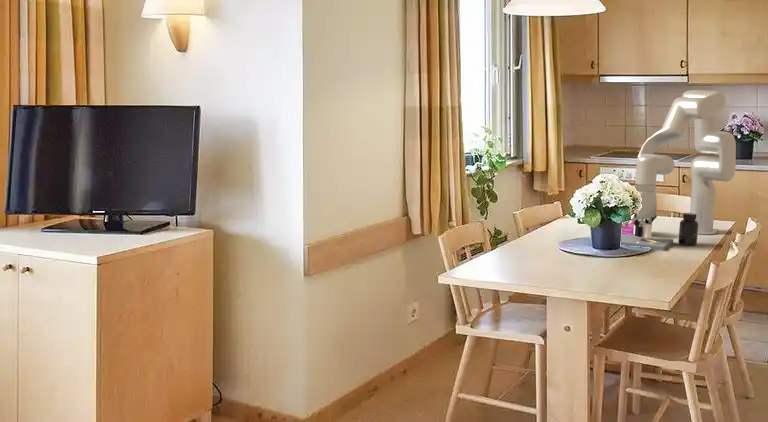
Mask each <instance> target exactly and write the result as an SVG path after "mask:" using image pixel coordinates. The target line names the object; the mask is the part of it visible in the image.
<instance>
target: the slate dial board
mask: <svg viewBox="0 0 768 422" xmlns="http://www.w3.org/2000/svg"><path fill="white" fill-rule="evenodd" d="M646 239H649V240H653V241H656V242H657V243H655V242H651V241H648V240H644V239H639V237H638V236H635V235H630V234H622V235H621V245H625V246H624V247H626V246H640V247H650V248H651V249H650V250H654V251H665V250H667V249H668V247H670V246H671V245H673V244H674V239H673V238H666V237H658V236H657V237H656V236H651V238H646Z"/></svg>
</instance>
